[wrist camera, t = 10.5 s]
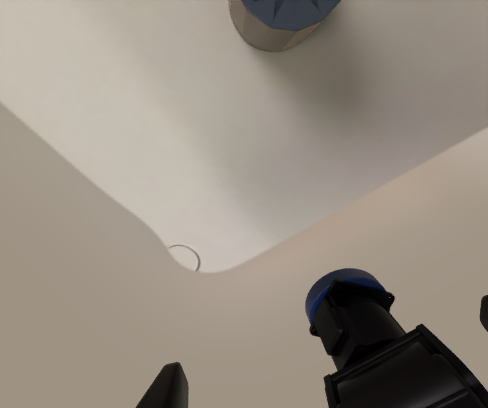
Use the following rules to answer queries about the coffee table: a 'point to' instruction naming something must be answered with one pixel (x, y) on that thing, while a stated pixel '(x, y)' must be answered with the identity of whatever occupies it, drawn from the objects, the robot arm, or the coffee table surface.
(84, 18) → the coffee table surface
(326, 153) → the coffee table surface
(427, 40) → the coffee table surface
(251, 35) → the pen cup
